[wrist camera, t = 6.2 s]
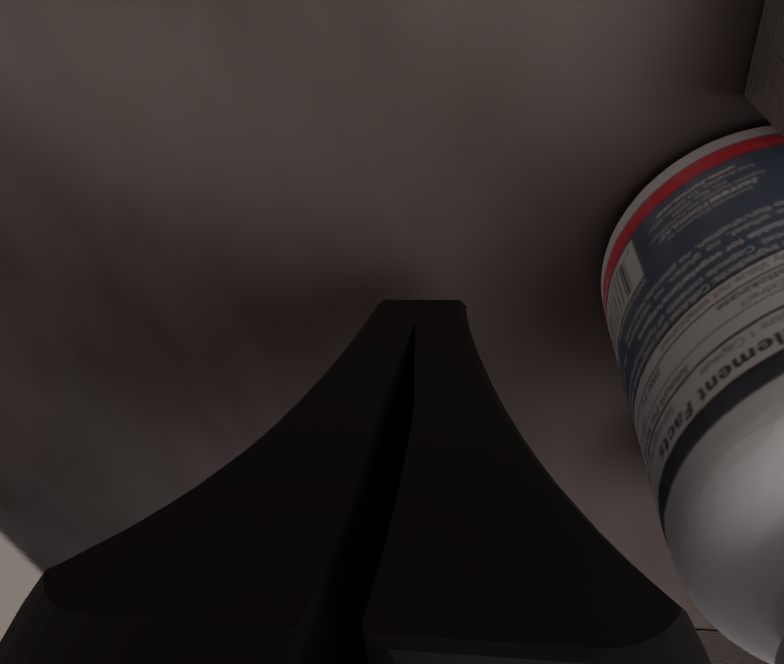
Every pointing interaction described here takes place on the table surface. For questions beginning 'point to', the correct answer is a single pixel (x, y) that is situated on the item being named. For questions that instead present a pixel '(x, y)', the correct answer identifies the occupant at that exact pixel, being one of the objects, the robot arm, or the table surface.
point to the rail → (780, 107)
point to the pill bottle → (711, 372)
